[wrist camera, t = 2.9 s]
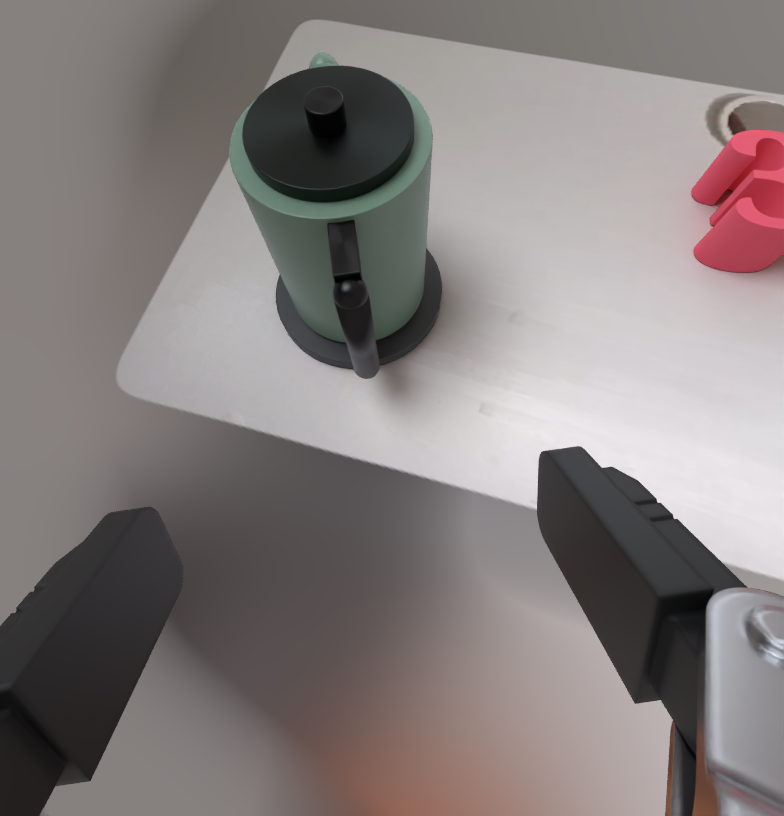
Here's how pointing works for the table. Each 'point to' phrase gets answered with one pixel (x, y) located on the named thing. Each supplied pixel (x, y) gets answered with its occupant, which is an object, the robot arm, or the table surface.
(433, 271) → the kettle base
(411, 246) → the kettle
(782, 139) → the pink curled block
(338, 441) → the table surface
